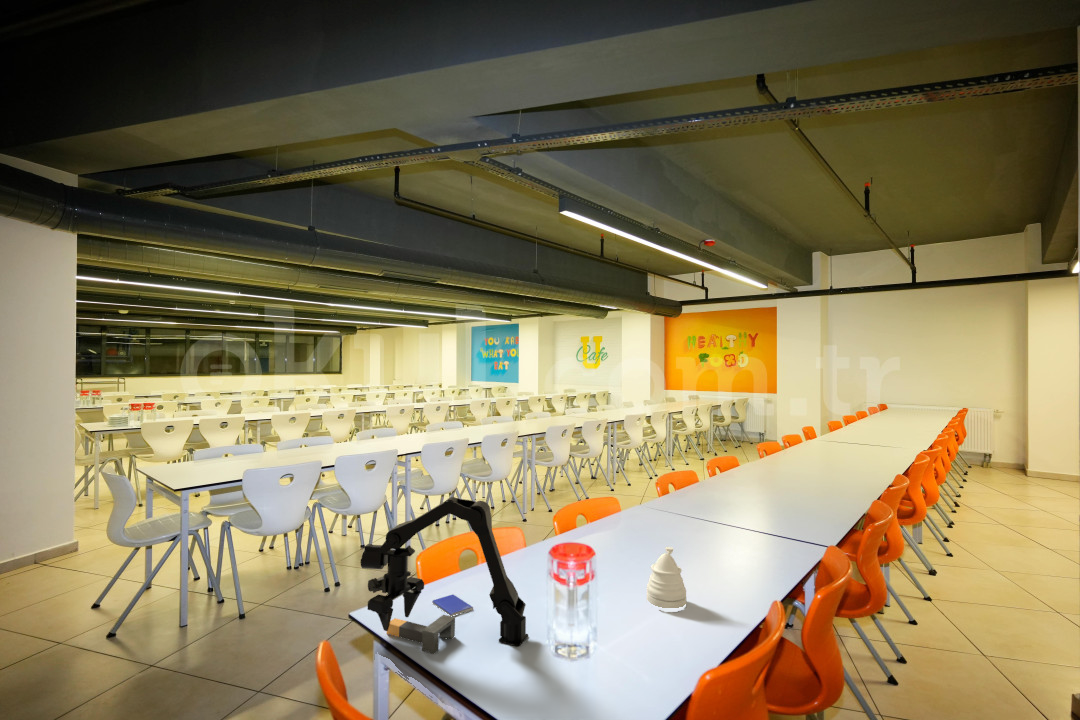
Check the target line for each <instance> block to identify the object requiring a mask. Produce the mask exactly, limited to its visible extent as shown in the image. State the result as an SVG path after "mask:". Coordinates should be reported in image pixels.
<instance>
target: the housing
mask: <svg viewBox="0 0 1080 720" xmlns="http://www.w3.org/2000/svg"><path fill="white" fill-rule="evenodd" d="M426 626H427V627H426V628H425V629H423V630H422V643H421V651H422V652H425V651H426V653H429V652H430V654H432V653H433V655H435V654H436V653H437V652H438V651H439V641H440V640H439V639H440V638H441V637H442V639H445V638H447V639H446V640H449V639H452V638H453V639H454V638H455V637H454V636H456V633H455V632H456V616H453V617H451V616H449V615H447V614H442V615H441V616H439V617H438V618H436V620H434V621H433V622H431V623H430V624H429V625H426ZM453 639H452V640H453ZM434 653H435V654H434Z"/></svg>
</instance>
